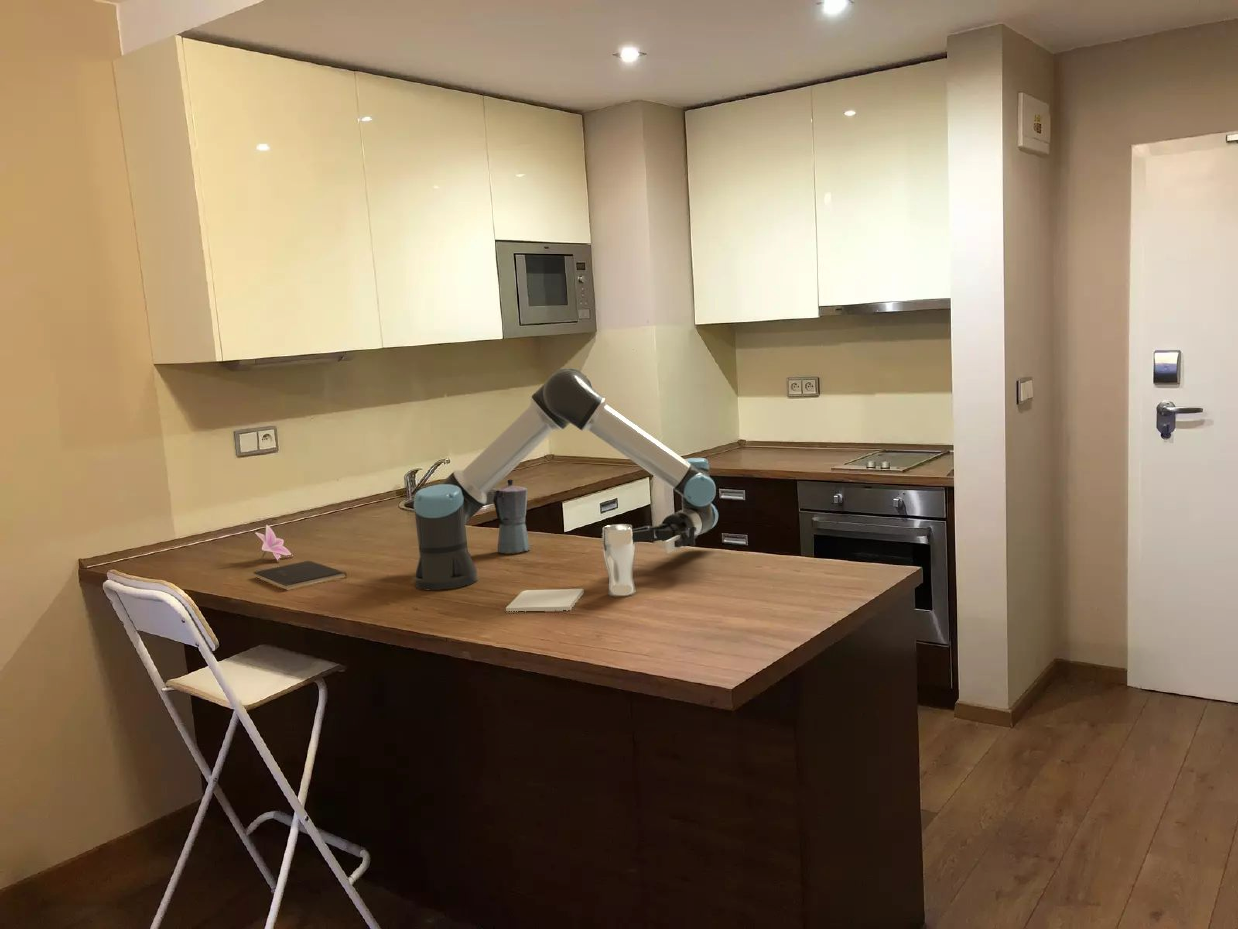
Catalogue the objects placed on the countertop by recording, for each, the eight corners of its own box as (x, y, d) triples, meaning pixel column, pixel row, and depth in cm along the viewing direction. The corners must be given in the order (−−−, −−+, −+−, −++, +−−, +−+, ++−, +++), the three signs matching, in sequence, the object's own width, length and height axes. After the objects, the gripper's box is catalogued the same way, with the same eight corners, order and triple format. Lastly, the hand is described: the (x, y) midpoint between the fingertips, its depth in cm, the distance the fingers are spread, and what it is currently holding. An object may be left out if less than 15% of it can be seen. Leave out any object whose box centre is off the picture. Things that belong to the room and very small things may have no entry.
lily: (257, 571, 275) (271, 541, 274) (236, 552, 281) (249, 522, 280) (292, 574, 285) (305, 545, 284) (270, 555, 291) (283, 527, 290)
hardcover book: (286, 593, 244) (285, 584, 244) (254, 580, 262) (253, 572, 261) (347, 580, 254) (346, 571, 253) (312, 568, 272) (311, 560, 271)
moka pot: (541, 545, 276) (535, 475, 273) (517, 558, 261) (511, 484, 259) (510, 545, 279) (504, 476, 276) (485, 558, 264) (478, 485, 262)
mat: (506, 612, 210) (505, 607, 210) (523, 594, 223) (523, 590, 223) (570, 610, 207) (569, 606, 207) (583, 593, 221) (583, 588, 221)
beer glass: (605, 590, 221) (600, 525, 219) (636, 587, 222) (631, 522, 220) (607, 598, 215) (602, 531, 213) (639, 595, 215) (634, 528, 213)
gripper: (728, 543, 238) (690, 564, 220) (637, 540, 250) (595, 559, 232) (726, 513, 237) (688, 531, 219) (635, 511, 249) (592, 528, 231)
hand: (640, 546), depth 225 cm, fingers open, 13 cm apart
